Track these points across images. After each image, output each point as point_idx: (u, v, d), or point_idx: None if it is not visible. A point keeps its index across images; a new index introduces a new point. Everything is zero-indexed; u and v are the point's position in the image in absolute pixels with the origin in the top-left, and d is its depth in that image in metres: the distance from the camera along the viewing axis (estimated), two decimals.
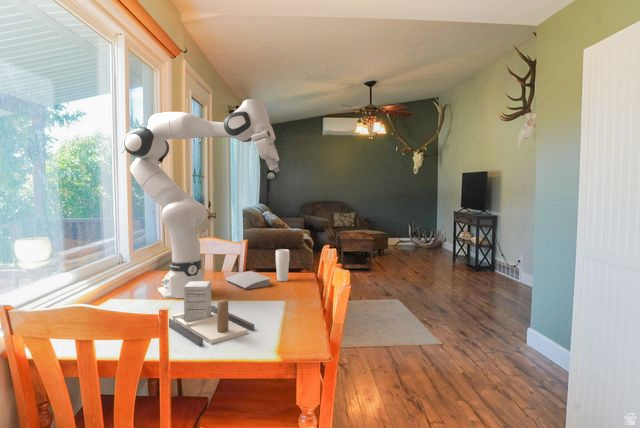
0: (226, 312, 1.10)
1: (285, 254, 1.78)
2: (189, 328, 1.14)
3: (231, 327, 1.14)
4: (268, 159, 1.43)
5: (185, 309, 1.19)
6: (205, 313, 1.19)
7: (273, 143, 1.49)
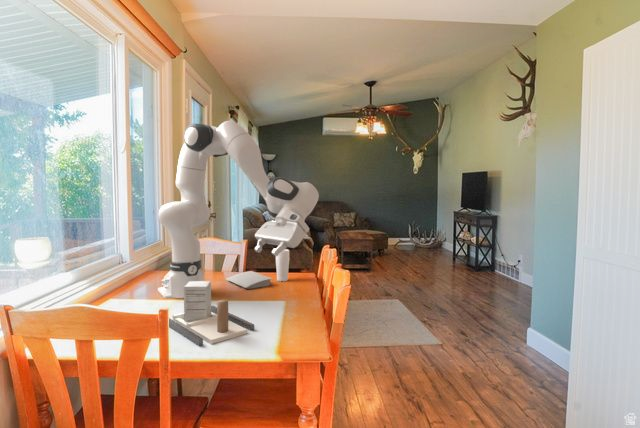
0: (226, 312, 1.10)
1: (285, 254, 1.78)
2: (189, 328, 1.14)
3: (231, 327, 1.14)
4: (284, 246, 1.18)
5: (185, 309, 1.19)
6: (205, 313, 1.19)
7: None
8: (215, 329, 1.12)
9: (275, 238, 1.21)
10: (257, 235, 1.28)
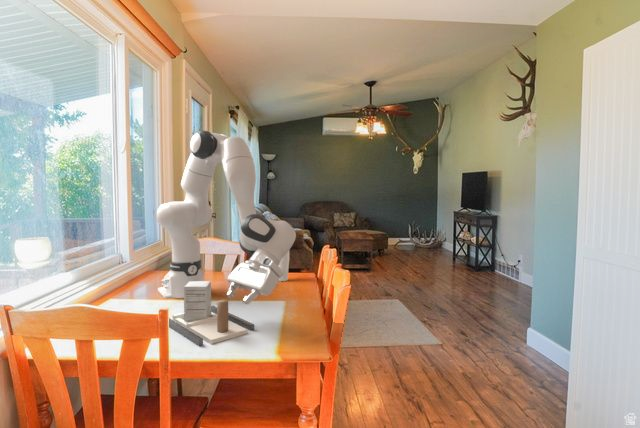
0: (226, 312, 1.10)
1: None
2: (189, 328, 1.14)
3: (231, 327, 1.14)
4: (257, 294, 1.11)
5: (185, 309, 1.19)
6: (205, 313, 1.19)
7: None
8: (215, 329, 1.12)
9: (247, 284, 1.14)
10: (230, 278, 1.21)
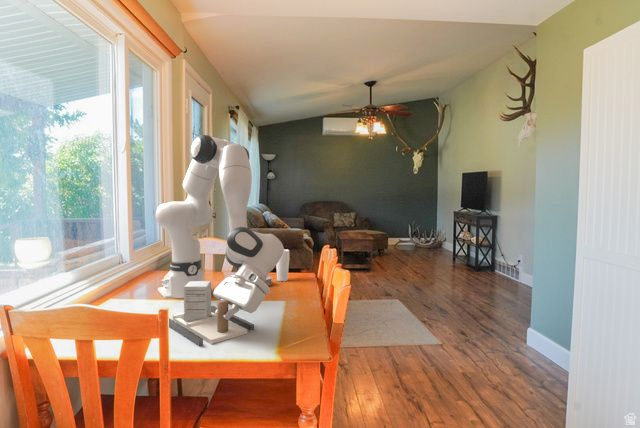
0: None
1: (285, 254, 1.78)
2: (189, 328, 1.14)
3: (231, 327, 1.14)
4: (237, 309, 1.10)
5: (185, 309, 1.19)
6: (205, 313, 1.19)
7: None
8: (215, 329, 1.12)
9: (232, 301, 1.10)
10: (215, 293, 1.18)
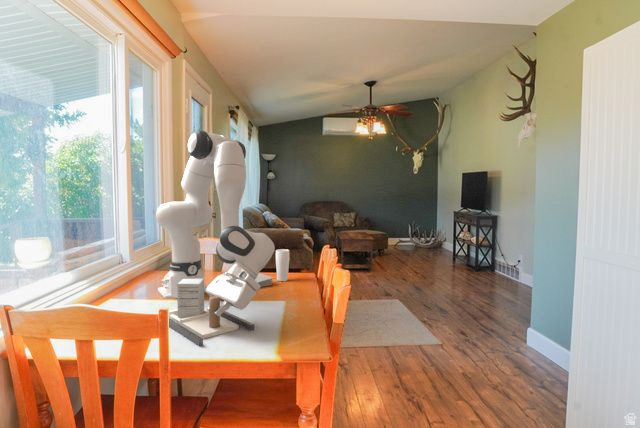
0: (218, 308, 1.14)
1: (285, 254, 1.78)
2: (182, 324, 1.18)
3: (223, 323, 1.18)
4: (228, 306, 1.13)
5: (178, 305, 1.22)
6: (198, 309, 1.23)
7: None
8: (207, 325, 1.16)
9: (223, 297, 1.14)
10: (207, 291, 1.21)
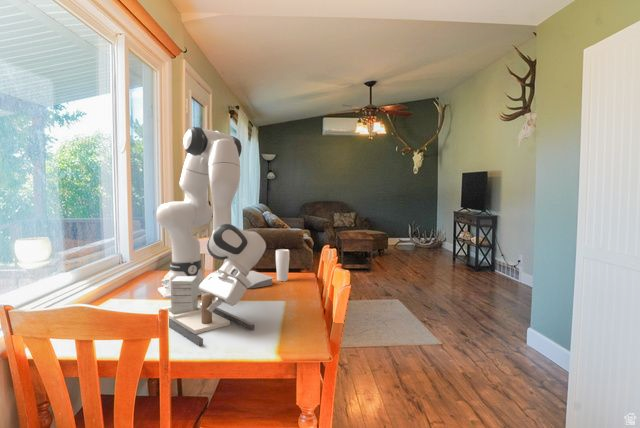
0: None
1: (285, 254, 1.78)
2: (175, 320, 1.21)
3: (215, 319, 1.21)
4: (219, 302, 1.17)
5: (172, 302, 1.26)
6: (191, 306, 1.27)
7: None
8: (200, 321, 1.20)
9: (215, 294, 1.17)
10: (200, 287, 1.25)
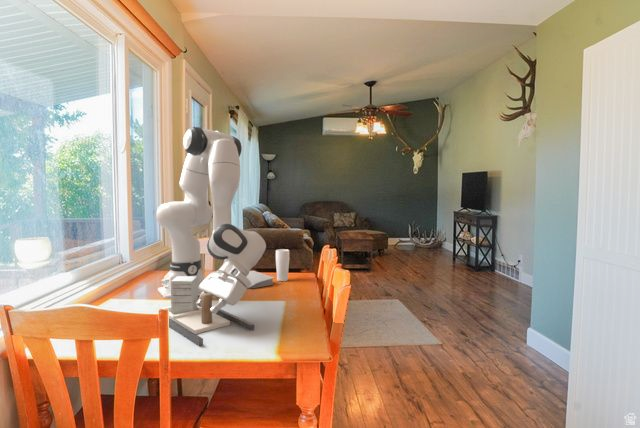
0: (210, 304, 1.17)
1: (285, 254, 1.78)
2: (175, 320, 1.21)
3: (215, 319, 1.21)
4: (223, 303, 1.15)
5: (172, 302, 1.26)
6: (191, 306, 1.27)
7: None
8: (200, 321, 1.20)
9: (215, 294, 1.17)
10: (200, 287, 1.25)
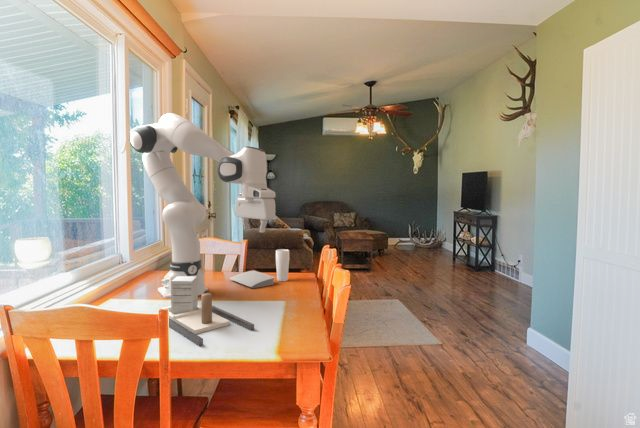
0: (210, 304, 1.17)
1: (285, 254, 1.78)
2: (175, 320, 1.21)
3: (215, 319, 1.21)
4: (265, 221, 1.28)
5: (172, 302, 1.26)
6: (191, 306, 1.27)
7: None
8: (200, 321, 1.20)
9: (254, 217, 1.30)
10: (238, 215, 1.37)
